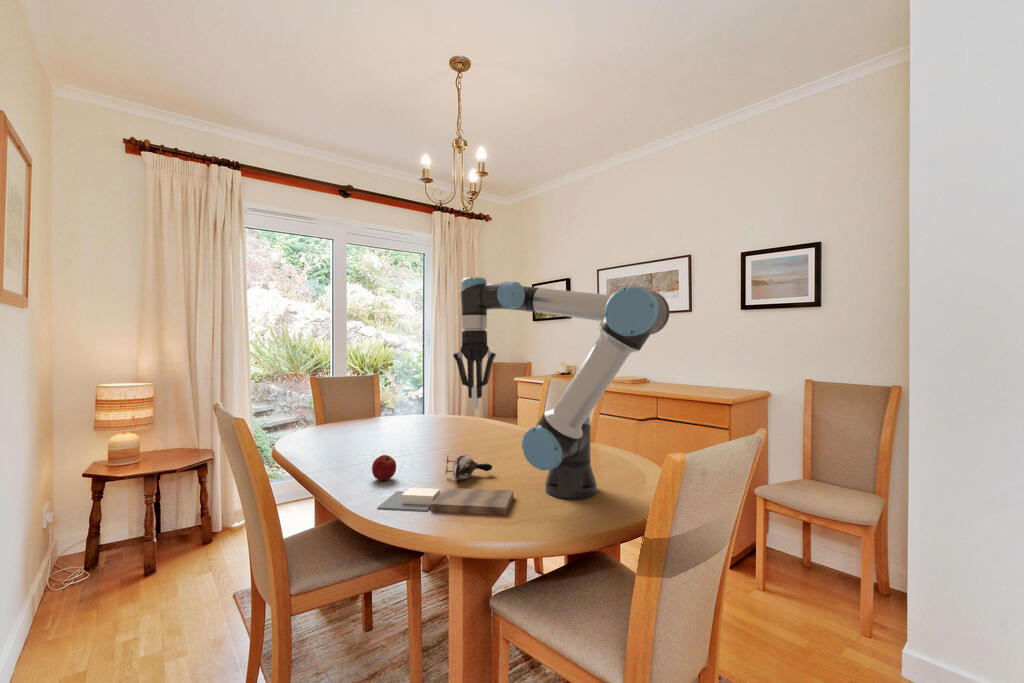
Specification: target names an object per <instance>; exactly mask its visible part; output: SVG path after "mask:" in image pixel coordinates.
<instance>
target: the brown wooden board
mask: <svg viewBox="0 0 1024 683" xmlns="http://www.w3.org/2000/svg"><path fill="white" fill-rule="evenodd" d="M513 500H514V490H511V489H510V490H508V489H507V490H505V489H481V488H480V489H478V488H459V487H458V488H456V487H444V489H443V490H442V491H440V495H439V496H438V497H437V498H436V499H435V500H434V501H433V502H432V503H431V508H430V512H431V513H432V512H436V513H437V512H438V513H453V514H455V513H456V514H470V515H471V514H472V515H473V514H474V515H491V516H492V515H493V516H494V515H495V516H506V515H507V513H508V511H509V508H510V507H511V504H512V502H513Z"/></svg>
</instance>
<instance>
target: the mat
mask: <svg viewBox="0 0 1024 683" xmlns="http://www.w3.org/2000/svg"><path fill="white" fill-rule="evenodd" d="M404 492H405V491H401V490H397V491H395V492H394V493H393V494H392V495H390V496H389V497H388V498H387V499H385V501H383V502H382V503H381V504H379V505H378V506H377V508H376V509H377V510H388V511H389V510H392V511H409V512H411V511H413V512H414V511H416V512H428V511H429V510H431V505H422V504H402V494H403V493H404Z"/></svg>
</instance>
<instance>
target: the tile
mask: <svg viewBox="0 0 1024 683" xmlns="http://www.w3.org/2000/svg"><path fill="white" fill-rule="evenodd" d="M403 492H404V493H403V494H402V504H422V505H431V503H432V502H433V501H434V500H435V499H436V498H437V497H438V496H439V495H440V493H441V489H440V488H428V487H427V488H426V487H409V488H407V490H405V491H403Z"/></svg>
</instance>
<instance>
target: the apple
mask: <svg viewBox="0 0 1024 683" xmlns="http://www.w3.org/2000/svg"><path fill="white" fill-rule="evenodd" d="M371 471H372V475H373V477H374V478H375V479H376V480H377V481H381V482H385V481H388V480H390V479H392V478H393V477H394V475H395V473H396V472H397V463H396V460H395V459H394V458H393V457H392V456H390V455H388V454H383V455H380V456H378V457H376V458H375V459H374V461H373V463H372V466H371Z"/></svg>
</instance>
